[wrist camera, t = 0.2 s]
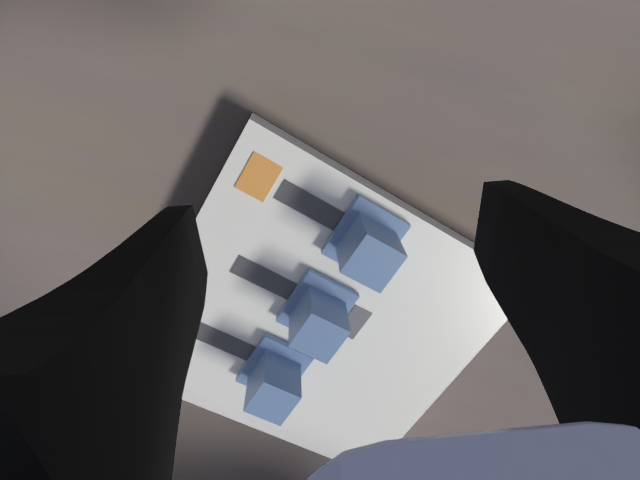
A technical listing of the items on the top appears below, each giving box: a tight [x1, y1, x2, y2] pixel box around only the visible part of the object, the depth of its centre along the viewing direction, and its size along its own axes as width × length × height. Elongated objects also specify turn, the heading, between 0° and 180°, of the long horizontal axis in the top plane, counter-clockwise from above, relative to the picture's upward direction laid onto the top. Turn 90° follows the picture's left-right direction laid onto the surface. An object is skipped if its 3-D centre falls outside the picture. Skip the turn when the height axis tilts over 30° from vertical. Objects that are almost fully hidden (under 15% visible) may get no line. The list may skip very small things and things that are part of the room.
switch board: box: [182, 113, 508, 459], centre depth 25 cm, size 15×16×2 cm
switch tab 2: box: [276, 267, 359, 364], centre depth 22 cm, size 3×3×3 cm
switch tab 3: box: [321, 193, 411, 293], centre depth 20 cm, size 3×3×3 cm
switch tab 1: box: [236, 332, 314, 426], centre depth 23 cm, size 3×3×3 cm
